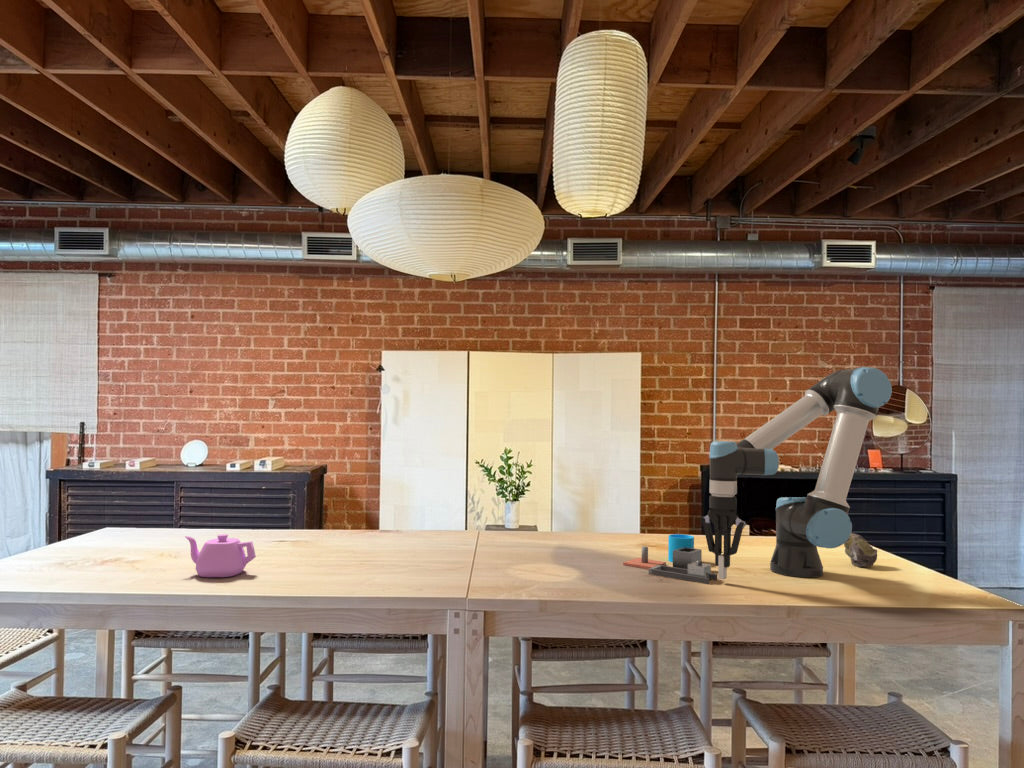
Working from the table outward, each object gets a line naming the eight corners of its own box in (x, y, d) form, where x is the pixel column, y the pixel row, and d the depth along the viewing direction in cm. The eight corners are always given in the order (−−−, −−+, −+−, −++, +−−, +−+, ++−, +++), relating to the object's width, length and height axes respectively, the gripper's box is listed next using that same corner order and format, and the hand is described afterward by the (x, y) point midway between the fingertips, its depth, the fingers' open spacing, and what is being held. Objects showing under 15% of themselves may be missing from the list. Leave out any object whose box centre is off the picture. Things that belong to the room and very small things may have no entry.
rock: (835, 564, 223) (835, 534, 223) (848, 561, 229) (848, 531, 230) (870, 570, 215) (870, 539, 215) (882, 566, 221) (882, 535, 222)
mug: (697, 563, 221) (697, 538, 221) (672, 564, 220) (673, 538, 220) (684, 556, 233) (685, 532, 233) (661, 556, 232) (661, 532, 232)
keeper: (666, 564, 218) (666, 546, 219) (652, 569, 211) (652, 551, 211) (637, 560, 225) (637, 542, 225) (623, 565, 217) (623, 547, 217)
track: (717, 579, 200) (717, 574, 200) (707, 584, 194) (707, 578, 194) (659, 569, 211) (659, 564, 211) (648, 573, 205) (648, 568, 205)
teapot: (192, 568, 201) (194, 530, 202) (261, 569, 202) (263, 531, 203) (172, 579, 188) (174, 538, 189) (246, 579, 189) (248, 539, 190)
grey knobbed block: (710, 578, 200) (710, 560, 200) (704, 581, 196) (704, 563, 196) (694, 575, 203) (694, 558, 203) (687, 578, 199) (687, 561, 199)
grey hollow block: (701, 568, 213) (701, 549, 214) (691, 573, 207) (691, 553, 207) (683, 565, 217) (683, 546, 217) (672, 570, 211) (672, 550, 211)
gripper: (750, 496, 195) (749, 579, 194) (706, 492, 203) (705, 572, 202) (741, 498, 189) (740, 584, 188) (696, 494, 197) (695, 576, 196)
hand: (722, 578), depth 195 cm, fingers closed
